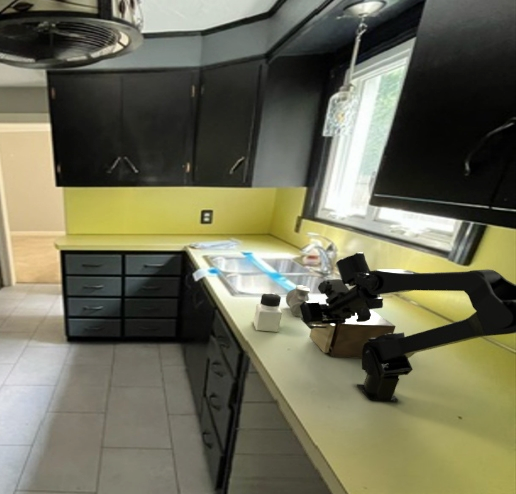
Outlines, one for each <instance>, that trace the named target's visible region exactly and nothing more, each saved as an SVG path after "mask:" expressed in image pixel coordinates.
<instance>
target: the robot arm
mask: <svg viewBox="0 0 516 494" xmlns="http://www.w3.org/2000/svg"><path fill="white" fill-rule="evenodd" d="M335 267H336V269H337V271H338V274H339V277H340V278H330V279H327V280H323V281H321V282H319V285H317V290H318V291H319V293H320V294H321V295H325V296H326V299H325V303H320V302H319V301H317V300H309V301H304V302H303V303H302V304H301V305H300V309H301V313H302V316H301V317H303V320H304V322H303V323H304V324H305V325H306V324H339V323H346V319H350V318H352V317H354V316H356V314H357V317H358V318H357V319H356V322H366V321H368V320H370V318H371V312H370V310H376V309H377V310H378V309H382V308H383V307H384V302H383V301H384V298H383V297H381V296H382V295H396V294H402V293H409V292H412V291H427V292H429V291H431V292H433V291H435V292H436V291H437V292H438V291H439V292H440V291H441V292H464V293H465V294H466V295H467V296H468V299H469V301H470V303H471V306H472V308H473V309H474V310H475V312H473V313H472V314H471V315H470V316H469V317H466V318H465V319H462V320H458V321H454V322H450V323H448V324H444V325H440V326H437V327H433V328H430V329H427V330H423V331H420V332H417V333H413V334H411V335H405V332H394V333H393V334H383V335H381V336H379V337H377V338H371V339H368V340H369V341H370V342H367V343H365V344H364V345H363V349H362V358H361V369H362V371H364V372H365V373H366V376H365V378H364V382H363V384H361V383H360V384H359V383H357V384H356V387H357V388H358V389H359V391H360V392H362V393H363V395H364V396H365V397H366V398H367V399H368V400H370V401H378V402H394V403H397V402H399V399H398V398H397V397H396V395H394V393H395V391H396V388H397V386H398V384H399V381H400V378H399V377H400V376H408V375H409V374H410V373H411V372H412V371H413V370H414V369H413V366H412V364H411V363H410V360H409V359H410V358H411V357H413V356H414V355H415V354H417V353H421V352H425V351H429V350H432V349H437V348H441V347H445V346H449V345H450V346H451V345H454V344H459V343H461V342H467V341H470V340H474V339H475V340H476V339H478V338H483V337H490V336H491V337H492V336H502V335H512V334H516V284H515V283H513V282H511V281H509V280H508V279H507V278H506V277H504V276H503V275H502V274H501V273H499V272H498V271H496V270H494V269H472V270H469V271H445V272H444V271H443V272H442V271H441V272H439V271H438V272H416V271H413V270H407V269H400V268H391V269H390V268H389V269H375V270H371V269H370V267H369V264H368V262H367V260H366V255H365V254H364V252H355V253H354V254H352V255H348V256H345V257H343V258H340V259H338V260H337V261H336V262H335ZM347 285H348V286H349V287H351V288H349V287H348V286H347Z"/></svg>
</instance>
